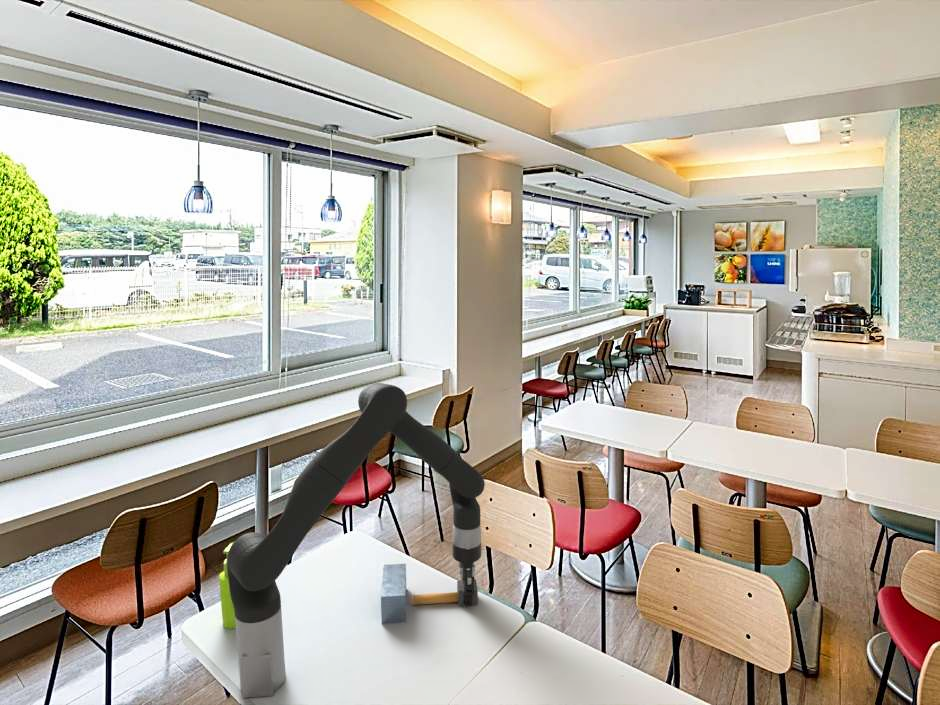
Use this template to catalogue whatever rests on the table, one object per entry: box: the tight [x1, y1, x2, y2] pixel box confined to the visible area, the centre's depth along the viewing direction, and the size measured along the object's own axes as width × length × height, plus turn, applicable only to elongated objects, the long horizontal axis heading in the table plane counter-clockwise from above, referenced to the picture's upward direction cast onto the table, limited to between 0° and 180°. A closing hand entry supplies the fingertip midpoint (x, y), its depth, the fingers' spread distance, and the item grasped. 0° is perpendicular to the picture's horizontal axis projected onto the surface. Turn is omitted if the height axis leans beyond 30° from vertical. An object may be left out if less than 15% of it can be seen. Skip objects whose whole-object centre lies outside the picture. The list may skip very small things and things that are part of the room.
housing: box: [380, 563, 407, 625], centre depth 149 cm, size 14×6×8 cm, turn 6°
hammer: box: [412, 579, 479, 607], centre depth 151 cm, size 4×17×4 cm, turn 96°
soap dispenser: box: [218, 541, 236, 630], centre depth 142 cm, size 6×7×20 cm
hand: (467, 598), depth 152 cm, fingers closed on hammer, 4 cm apart
